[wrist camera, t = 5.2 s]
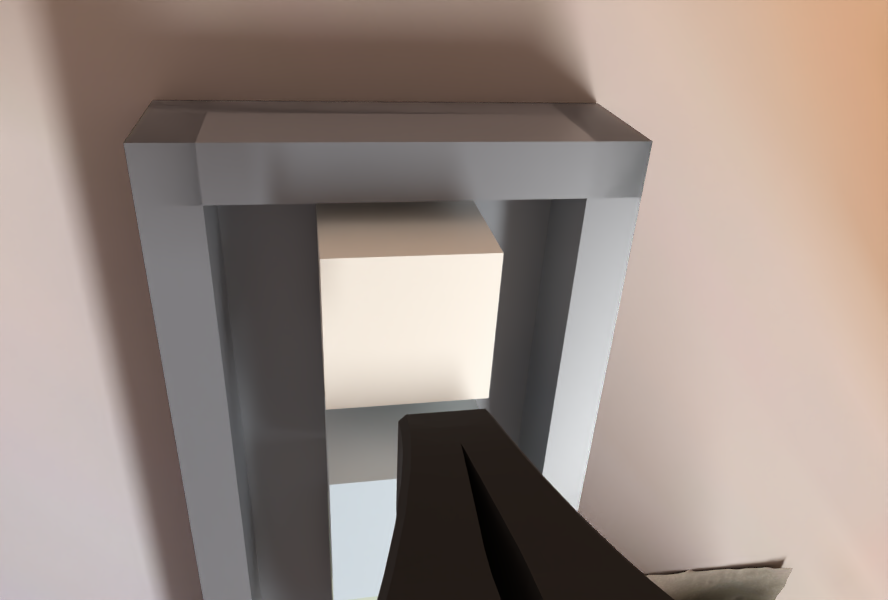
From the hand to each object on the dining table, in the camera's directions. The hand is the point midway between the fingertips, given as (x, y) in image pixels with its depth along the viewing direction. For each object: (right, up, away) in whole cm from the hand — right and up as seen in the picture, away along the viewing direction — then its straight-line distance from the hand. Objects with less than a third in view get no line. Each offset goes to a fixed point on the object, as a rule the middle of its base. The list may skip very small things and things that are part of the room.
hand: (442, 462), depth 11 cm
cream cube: (-1, +3, +5) cm, 6 cm away
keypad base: (-2, -1, +10) cm, 10 cm away
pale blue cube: (-1, -1, +6) cm, 6 cm away
